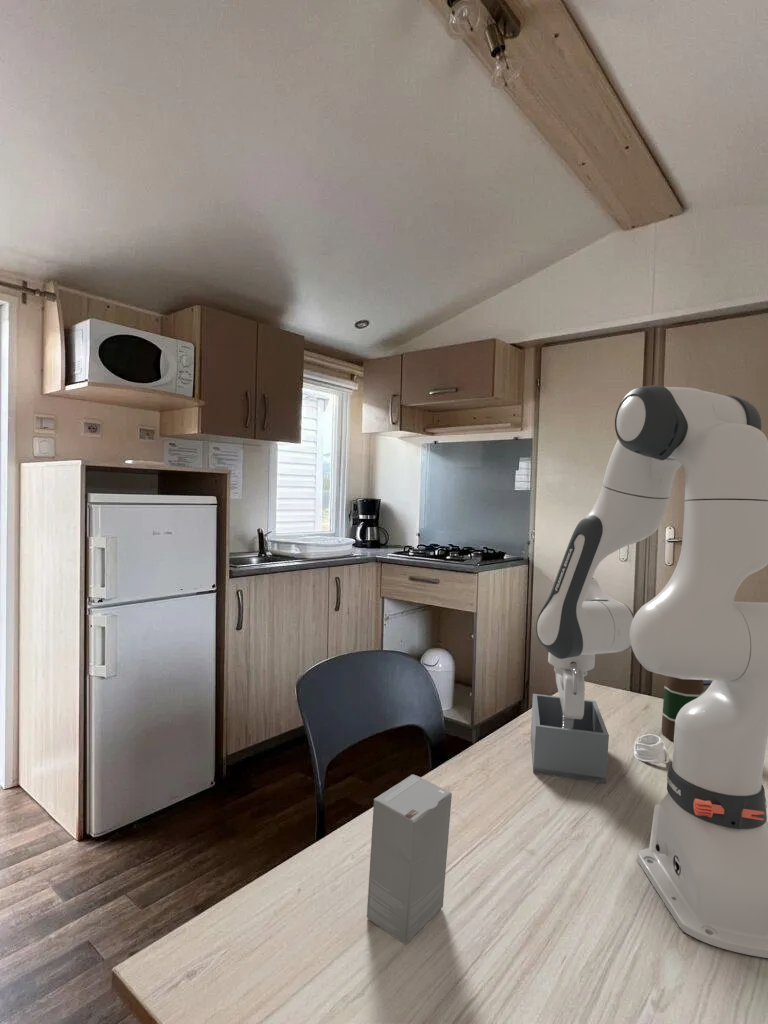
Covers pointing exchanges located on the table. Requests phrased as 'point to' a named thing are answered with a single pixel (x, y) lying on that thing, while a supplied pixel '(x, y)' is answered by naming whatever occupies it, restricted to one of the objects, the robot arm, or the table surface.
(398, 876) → the skincare box
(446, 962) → the table surface
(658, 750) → the white crumpled ring
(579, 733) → the tote
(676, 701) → the beer bottle
